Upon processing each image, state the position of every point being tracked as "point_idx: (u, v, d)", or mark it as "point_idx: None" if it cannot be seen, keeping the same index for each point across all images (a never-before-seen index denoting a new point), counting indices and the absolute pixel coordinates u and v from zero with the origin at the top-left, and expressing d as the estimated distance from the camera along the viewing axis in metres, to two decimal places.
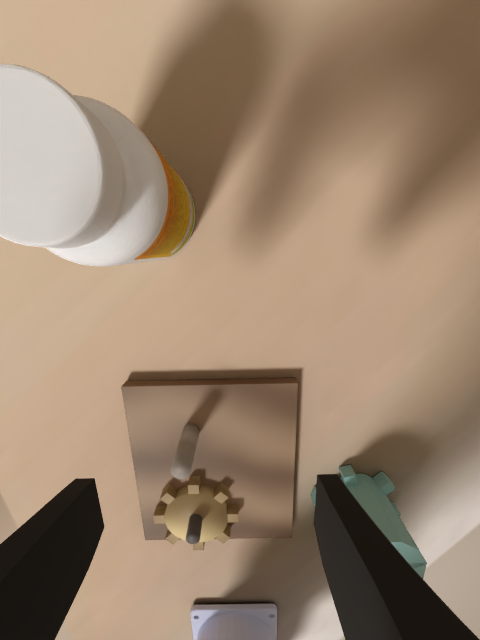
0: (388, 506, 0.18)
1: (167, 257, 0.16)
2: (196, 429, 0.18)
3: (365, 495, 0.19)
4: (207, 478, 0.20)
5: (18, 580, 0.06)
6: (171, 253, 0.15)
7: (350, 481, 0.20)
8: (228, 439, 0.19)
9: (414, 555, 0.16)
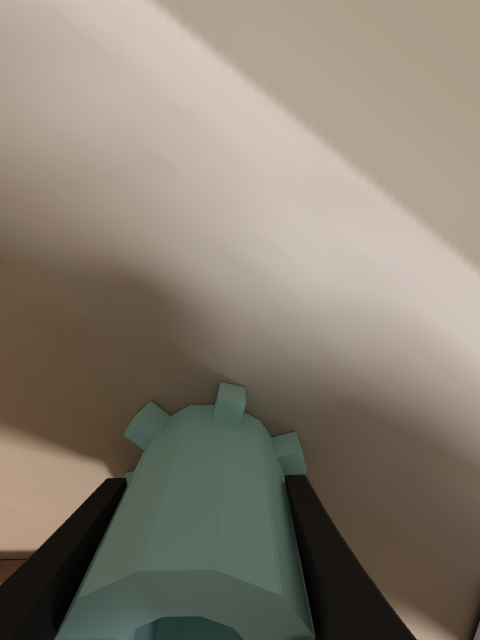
0: (126, 491, 0.07)
1: None
2: None
3: None
4: None
5: (65, 580, 0.06)
6: None
7: None
8: None
9: (106, 605, 0.05)
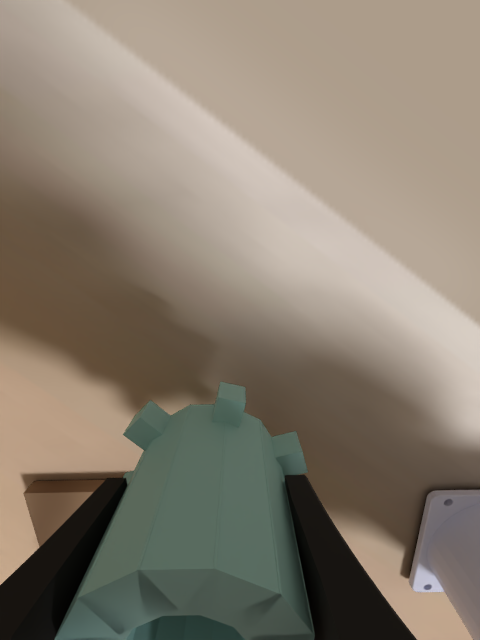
0: (126, 491, 0.07)
1: None
2: None
3: None
4: None
5: (65, 580, 0.06)
6: None
7: None
8: None
9: (106, 604, 0.05)
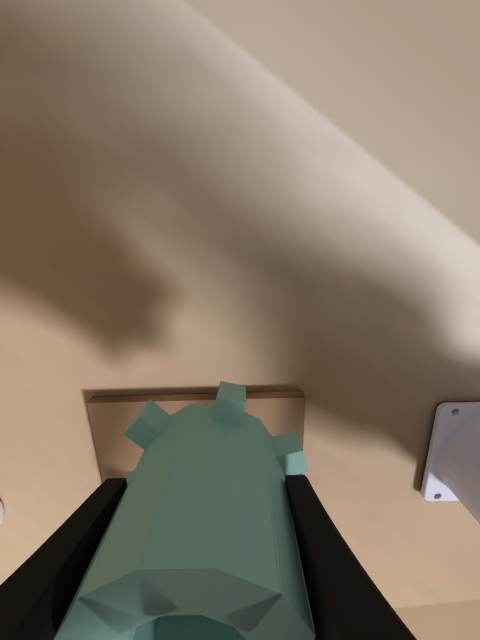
0: (126, 490, 0.07)
1: None
2: None
3: None
4: None
5: (65, 580, 0.06)
6: None
7: None
8: None
9: (106, 603, 0.05)
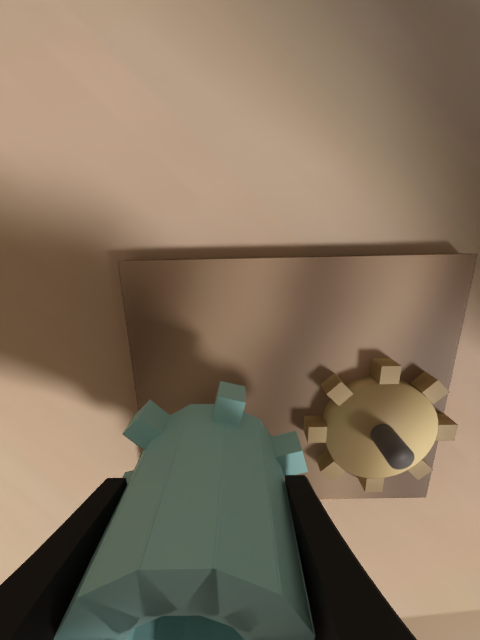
0: (125, 490, 0.07)
1: None
2: None
3: None
4: (310, 405, 0.12)
5: (65, 580, 0.06)
6: None
7: None
8: (233, 372, 0.11)
9: (105, 604, 0.05)
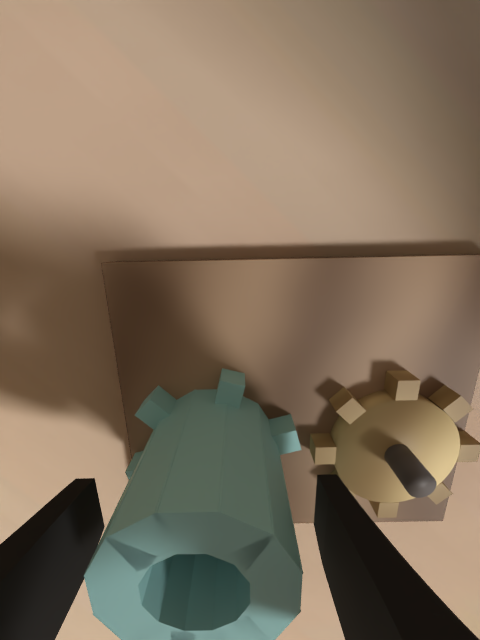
0: (139, 462, 0.08)
1: None
2: None
3: None
4: (317, 422, 0.11)
5: (19, 580, 0.06)
6: None
7: None
8: None
9: (128, 543, 0.06)
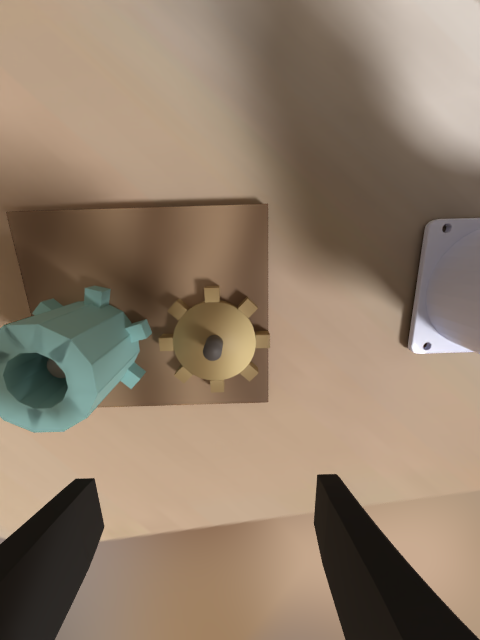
0: None
1: None
2: None
3: None
4: (165, 325, 0.16)
5: (18, 580, 0.06)
6: None
7: None
8: None
9: None
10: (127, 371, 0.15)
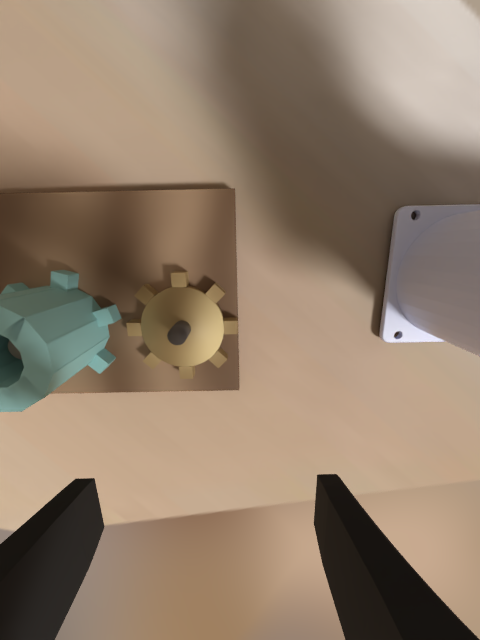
0: None
1: None
2: None
3: None
4: (135, 310, 0.16)
5: (18, 580, 0.06)
6: None
7: None
8: None
9: None
10: (95, 356, 0.15)
